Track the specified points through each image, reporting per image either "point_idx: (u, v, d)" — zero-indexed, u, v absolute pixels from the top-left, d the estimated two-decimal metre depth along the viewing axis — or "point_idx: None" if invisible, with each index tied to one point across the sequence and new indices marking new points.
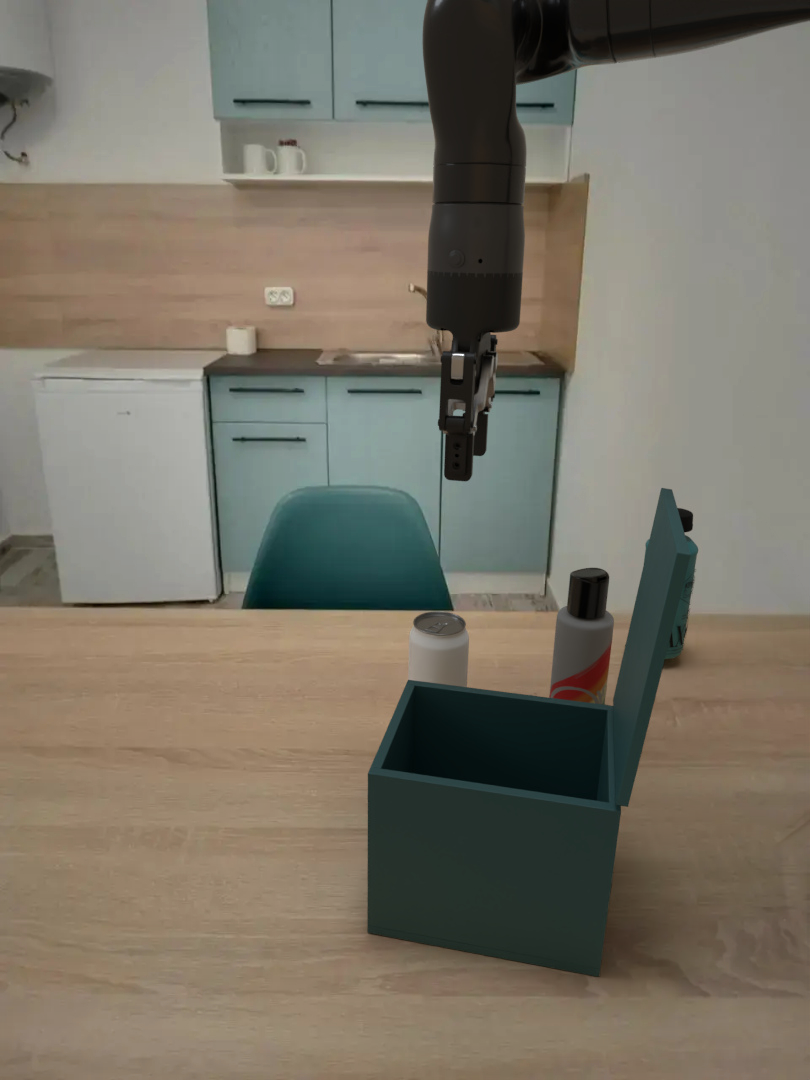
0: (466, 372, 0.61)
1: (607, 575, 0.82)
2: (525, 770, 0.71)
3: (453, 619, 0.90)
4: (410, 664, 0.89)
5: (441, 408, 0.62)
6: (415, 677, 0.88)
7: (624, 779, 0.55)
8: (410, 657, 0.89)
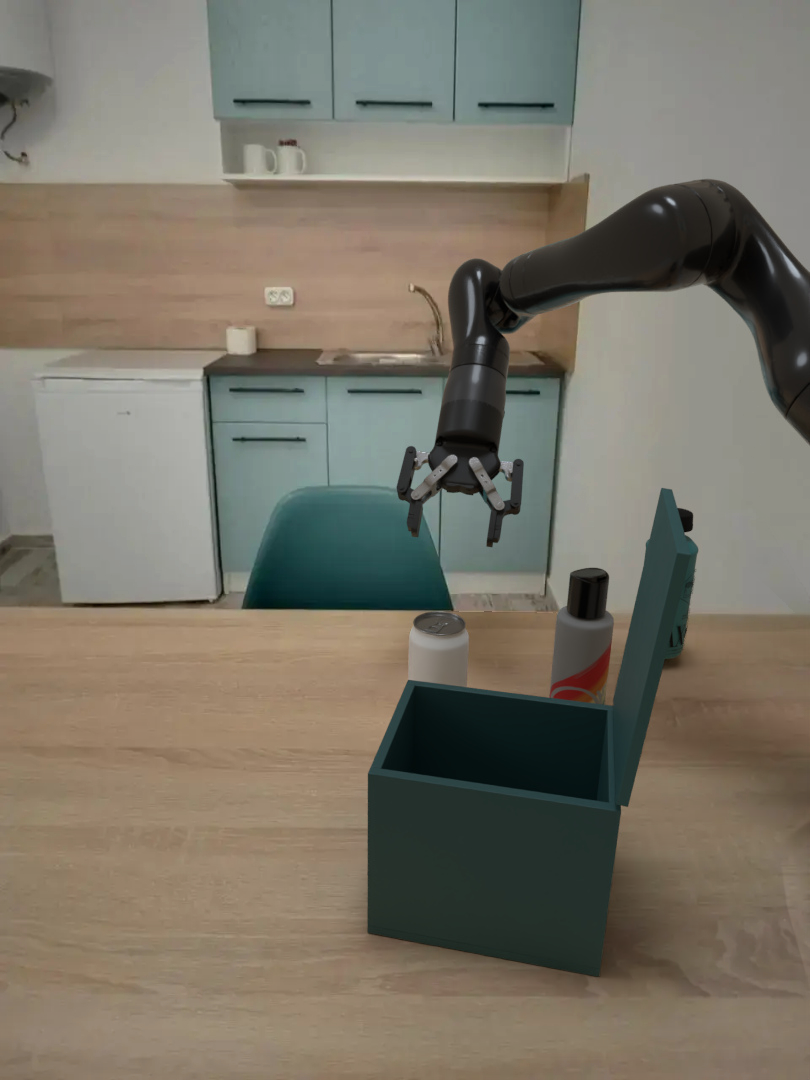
0: None
1: (607, 575, 0.82)
2: (525, 770, 0.71)
3: (453, 619, 0.90)
4: (410, 664, 0.89)
5: None
6: (415, 677, 0.88)
7: (624, 779, 0.55)
8: (410, 657, 0.89)
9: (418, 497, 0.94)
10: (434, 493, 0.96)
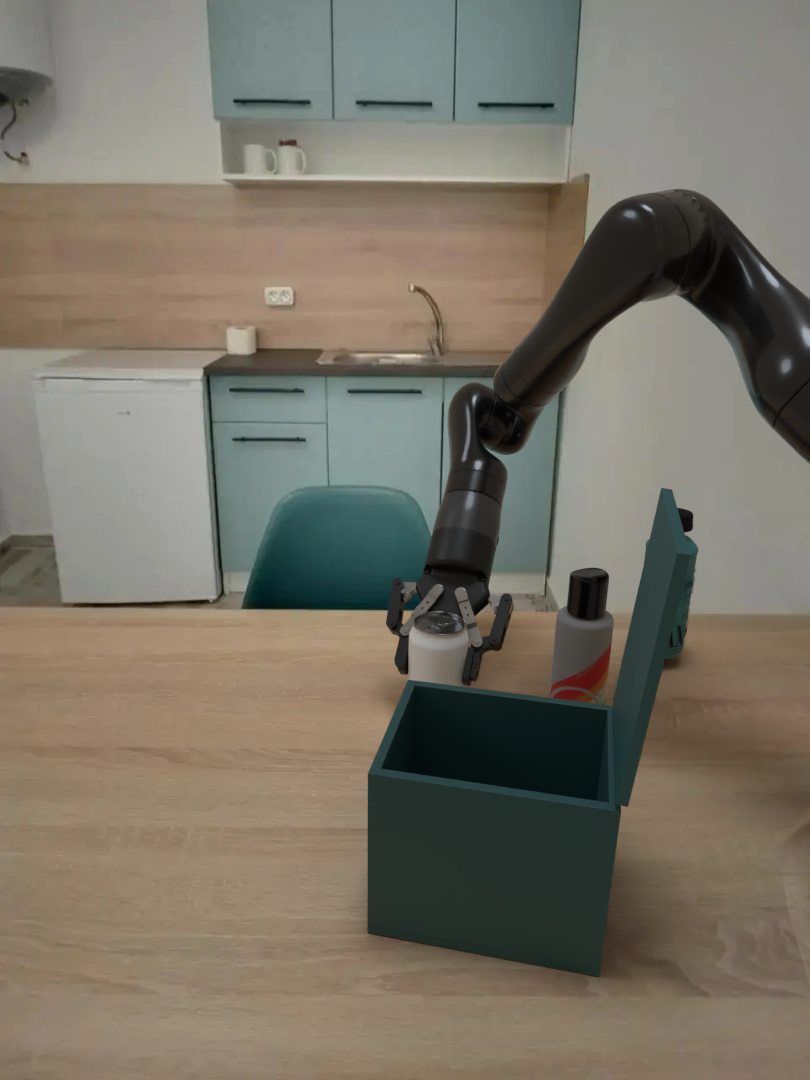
0: None
1: (607, 575, 0.82)
2: (525, 770, 0.71)
3: (453, 619, 0.90)
4: (410, 664, 0.89)
5: None
6: (415, 677, 0.88)
7: (624, 779, 0.55)
8: (410, 657, 0.89)
9: (408, 633, 0.90)
10: None
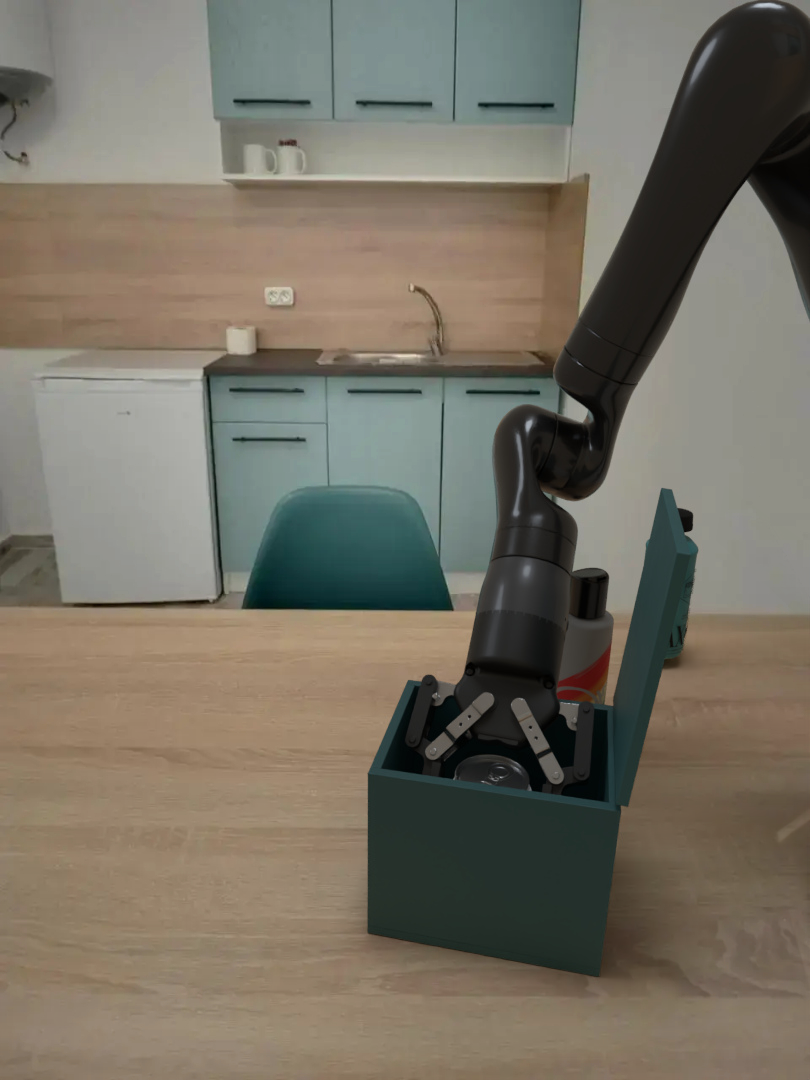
0: None
1: (607, 575, 0.82)
2: None
3: (510, 768, 0.64)
4: None
5: None
6: None
7: (624, 779, 0.55)
8: None
9: (435, 756, 0.64)
10: (462, 745, 0.66)
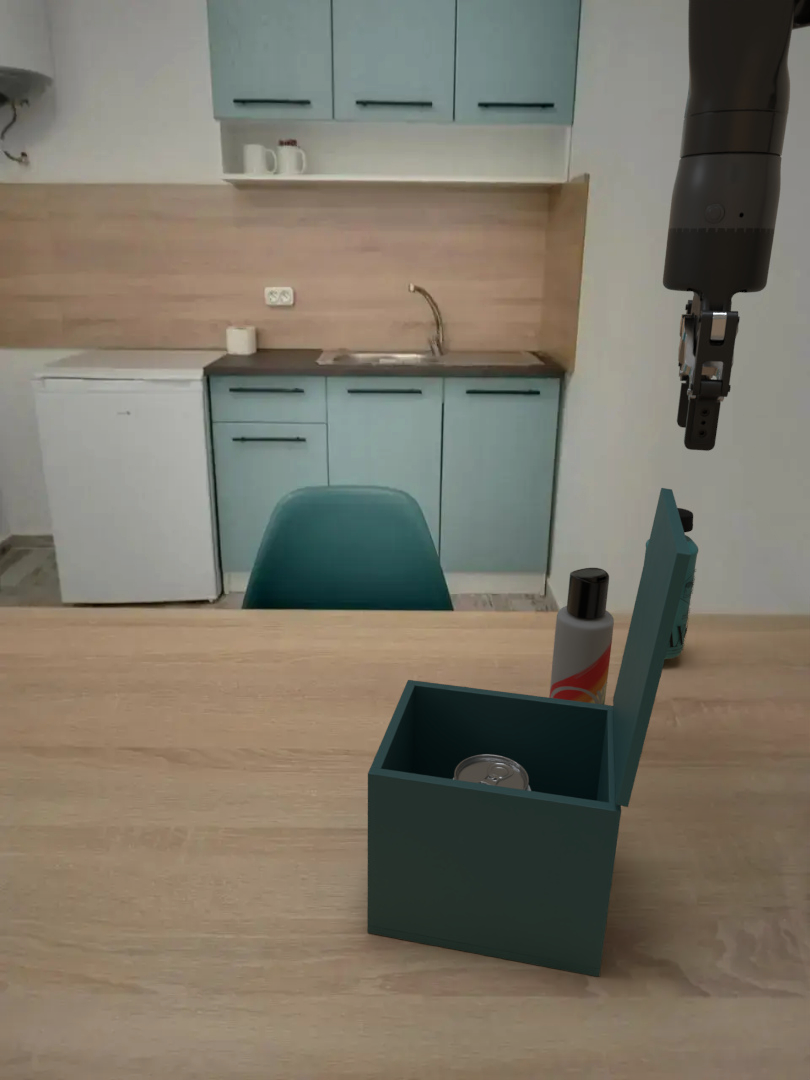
0: (728, 332, 0.58)
1: (607, 575, 0.82)
2: (525, 770, 0.71)
3: (509, 768, 0.64)
4: None
5: (697, 371, 0.59)
6: None
7: (624, 779, 0.55)
8: None
9: None
10: None
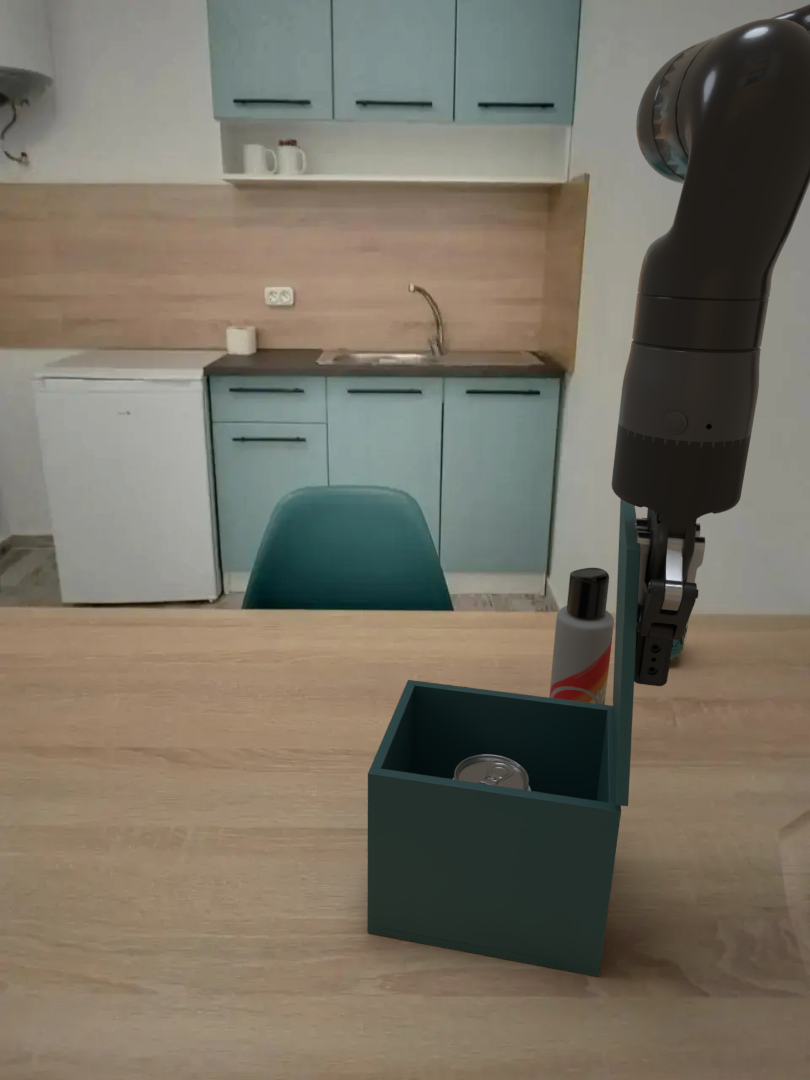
0: (683, 608, 0.47)
1: (607, 575, 0.82)
2: (525, 770, 0.71)
3: (509, 768, 0.64)
4: None
5: (645, 626, 0.50)
6: None
7: (619, 779, 0.55)
8: None
9: None
10: None
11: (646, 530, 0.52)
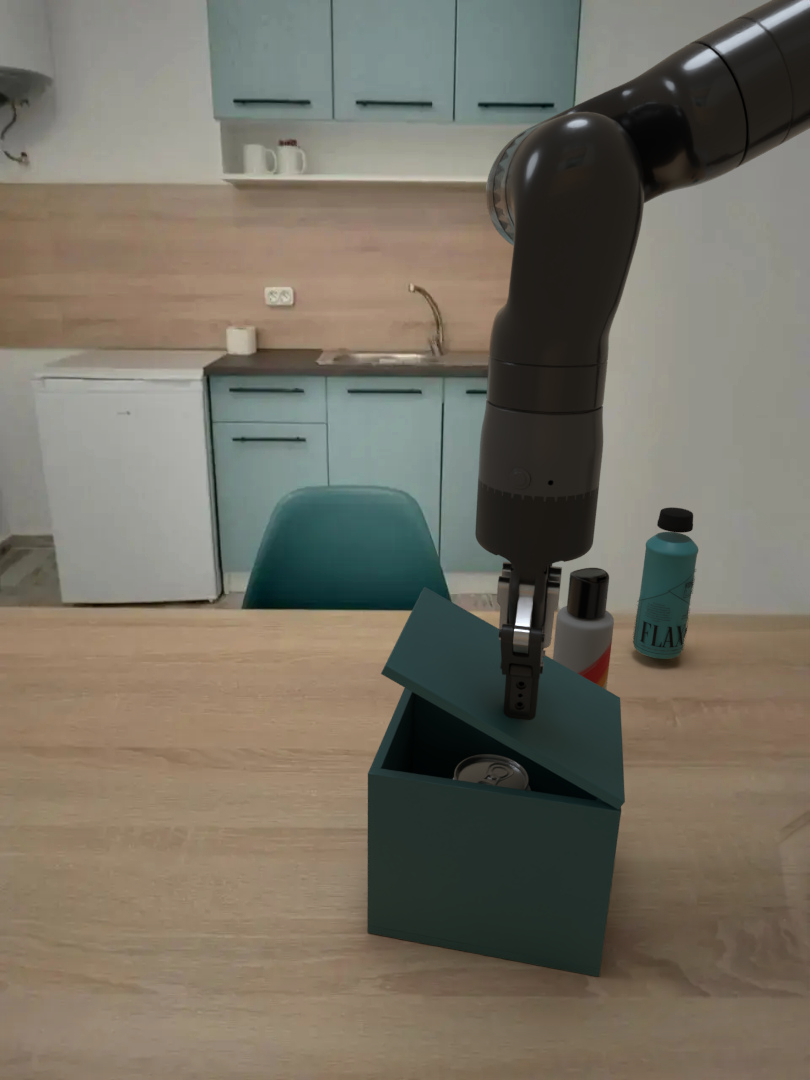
0: (532, 652, 0.50)
1: (607, 575, 0.82)
2: (525, 770, 0.71)
3: (509, 768, 0.64)
4: None
5: (504, 666, 0.53)
6: None
7: (592, 792, 0.56)
8: None
9: None
10: None
11: None
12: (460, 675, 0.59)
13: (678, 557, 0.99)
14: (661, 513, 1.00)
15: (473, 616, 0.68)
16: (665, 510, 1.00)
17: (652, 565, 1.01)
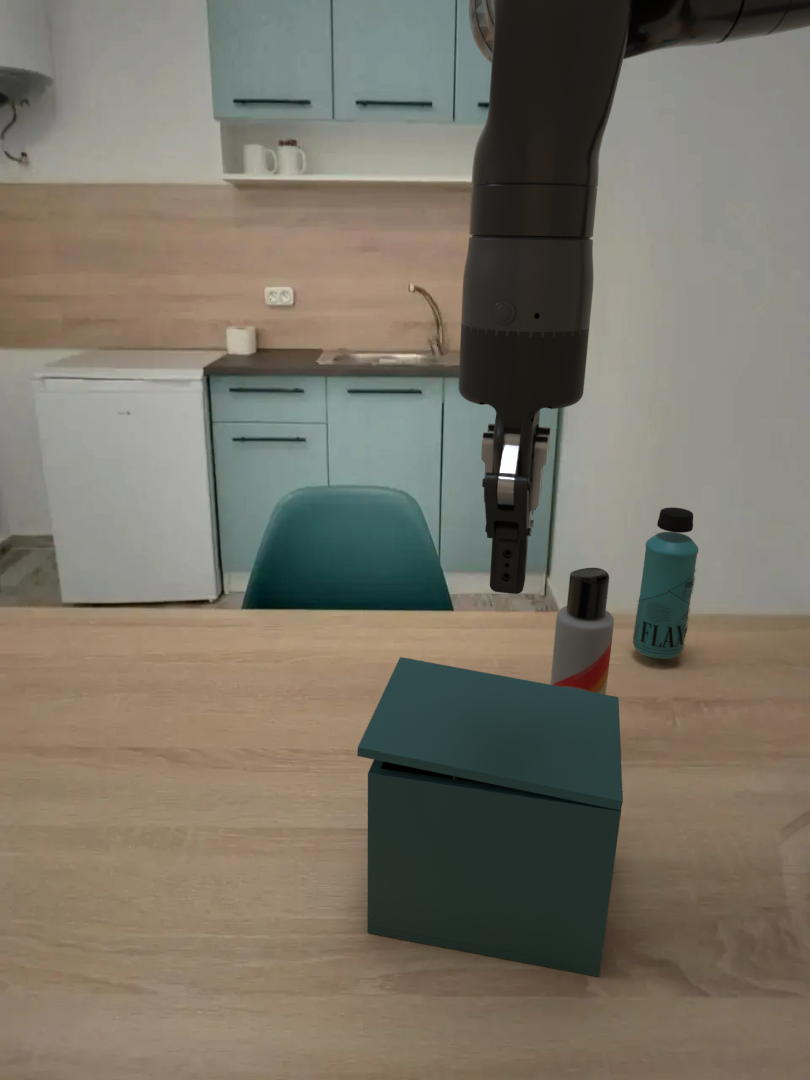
0: (518, 502, 0.47)
1: (607, 575, 0.82)
2: None
3: None
4: None
5: (488, 526, 0.50)
6: None
7: (589, 802, 0.56)
8: None
9: None
10: None
11: None
12: (438, 731, 0.61)
13: (678, 557, 0.99)
14: (661, 513, 1.00)
15: (452, 668, 0.70)
16: (665, 510, 1.00)
17: (652, 565, 1.01)
